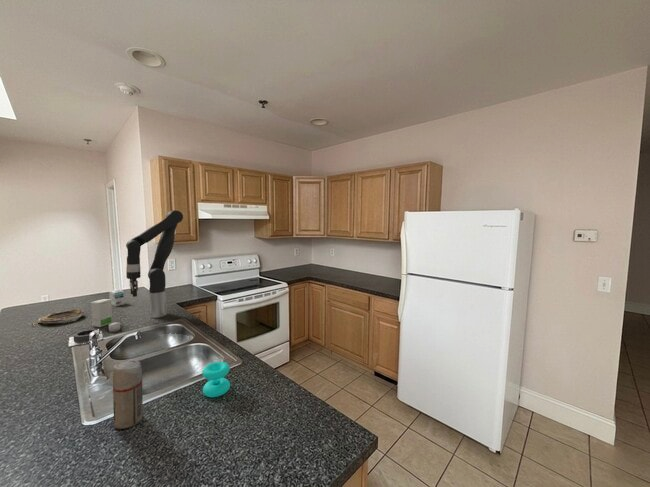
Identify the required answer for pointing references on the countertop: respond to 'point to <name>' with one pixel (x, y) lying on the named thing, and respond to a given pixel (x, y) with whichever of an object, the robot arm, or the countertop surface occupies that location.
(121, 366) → the brown cylinder
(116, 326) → the cap
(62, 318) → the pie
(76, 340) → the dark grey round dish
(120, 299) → the light bulb box
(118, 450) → the countertop surface
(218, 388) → the teal spool
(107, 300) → the skincare box
